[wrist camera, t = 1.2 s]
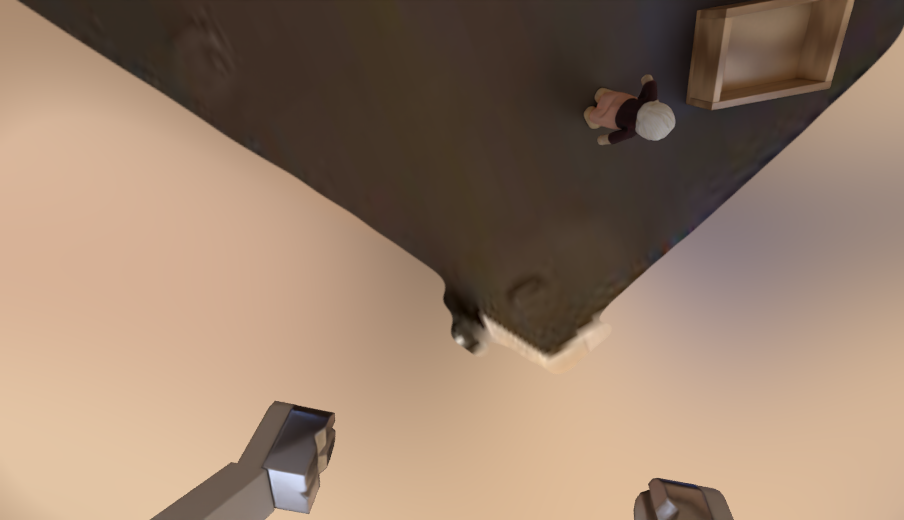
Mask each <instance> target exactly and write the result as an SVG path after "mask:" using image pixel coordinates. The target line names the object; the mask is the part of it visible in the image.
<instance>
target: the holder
mask: <svg viewBox="0 0 904 520" xmlns="http://www.w3.org/2000/svg"><path fill="white" fill-rule="evenodd" d="M853 4H854V0H753V1H747V2H742V3H736V4H730V5H725V6H719V7H714V8H708V9H702V10H698V11H697V17H696V25H695V33H694V41H693V49H692V57H691V66H690V74H689V82H688V90H687V98H686V104H689V105H693V106H697V107H701V108H705V109H709V110H716V109H721V108H726V107H732V106H737V105H742V104H748V103H753V102H758V101H764V100H769V99H774V98H780V97H785V96H790V95H796V94H801V93H806V92H812V91H817V90H822V89H828V88H830V86H831V82H832V81H831V80H832V78H833V75H834V71H835V68H836V64H837V60H838V57H839V53H840V50H841V46H842V43H843V39H844V36H845V32H846V29H847V25H848V21H849V18H850V14H851V11H852V7H853Z"/></svg>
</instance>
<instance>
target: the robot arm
mask: <svg viewBox="0 0 904 520" xmlns="http://www.w3.org/2000/svg"><path fill="white" fill-rule="evenodd" d="M334 422H335V413H333V412H327V411H322V410H318V409H313V408H307V407H302V406H298V405H294V404H289V403H284V402H279V401H274V403H273V404H272V405H271V406H270V407H269V408H268V410H267V412H266V414H265V415H264V417H263V419H262V421H261V422H260V424H259V426H258V428H257V429H256V431H255V433H254V435H253V437H252V439H251V440H250V442H249V444H248V445H247V447H246V449H245V451H244V452H243V454H242V456H241V458H240V459H239V461H238V463H232V462H231V463H230V464H229V465H227V466H225V467H224V468H223V469H221V470H220V471H219V472H217V473H215V474H214V475H213V476H211V477H210V478H208V479H207V480H206V481H204V482H203V483H201V484H200V485H198V486H197V487H196V488H194V489H193V490H191V491H190V492H189V493H187V494H186V495H184V496H183V497H181V498H180V499H179V500H177V501H176V502H175V503H173V504H172V505H170V506H169V507H167V508H166V509H164V510H163V511H162V512H160V513H159V514H157V515H156V516H155V517H153V518H152V519H150V520H265V519H266V518H267V517H268V516H269V515H270V514H271V513H272V512H273V511H274V508H278V509H283V510H289V511H295V512H301V513H306V514H309V513H310V510H311V508H312V505H313V503H314V500H315V497H316V495H317V492H318V490H319V487H320V480H319V474H320V473H321V472H322V471H324V470H325V469H326V468H327V466H328V463H329V460H330V457H331V454H332V450H333V447H334V442H335V430H334V429H333V428H332V427H333V424H334ZM648 485H649V489H650V490H647V491H644V492H641V493H640V494H639V496H638V497H637V498H636V500H635V506H634V520H734V519H733V517H732V514H731V512H730V510H729V507H728V505H727V502H726V500H725V498H724V496H723V495H722V494H721V492H720V491H718V490H716V489H713V488H708V487H702V486H698V485H694V484H689V483H683V482H678V481H672V480H666V479H661V478H654V479H652V480H651V481H650V482H649V484H648Z"/></svg>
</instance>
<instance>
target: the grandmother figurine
mask: <svg viewBox="0 0 904 520" xmlns="http://www.w3.org/2000/svg"><path fill="white" fill-rule="evenodd" d="M641 83H642V84H643V88H642V91H641V93H640V95H639V97H638V99H637V98H636V97H635V96H632V95H630V94H626V93H623V92H615V91H612V90H609V89H606V88H600V89H599V90H598V91H597V92H596V94H595V101H596V102H597V103H598V105H597V107H594V106H590V107H588V108H587V109H586V110H585V112H584V118H585V120H586V122H587V123H588V125H589V127H590V128H592V129H596V128H599V127H600V126H604V127H607V128H611V129H622V130H618V131H615V132H612V133H610V134H606V135H601V136H599V137H598V139H597V141H598V143H599V144H600V145H604V144H615V143H618V142H621V141H623V140H626V139H629V138H632V137H634V136H635V135H636V134H637V133H638V134H639V135H641V136H642V137H643V138H646V139H648V140H659V139H661V138H664V137H666V136H667V135H668V134H669V132H670V131H671V130H672V129H673V128H674V126H675V116H674V114H673V112H672V110H671V108H670V107H669V106H667V105H666V104H664V103H660V102H659V100H657V84H656V82H655V81H654V80H653V78H652V76H651V75H645V76H643V78H642V79H641Z"/></svg>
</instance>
